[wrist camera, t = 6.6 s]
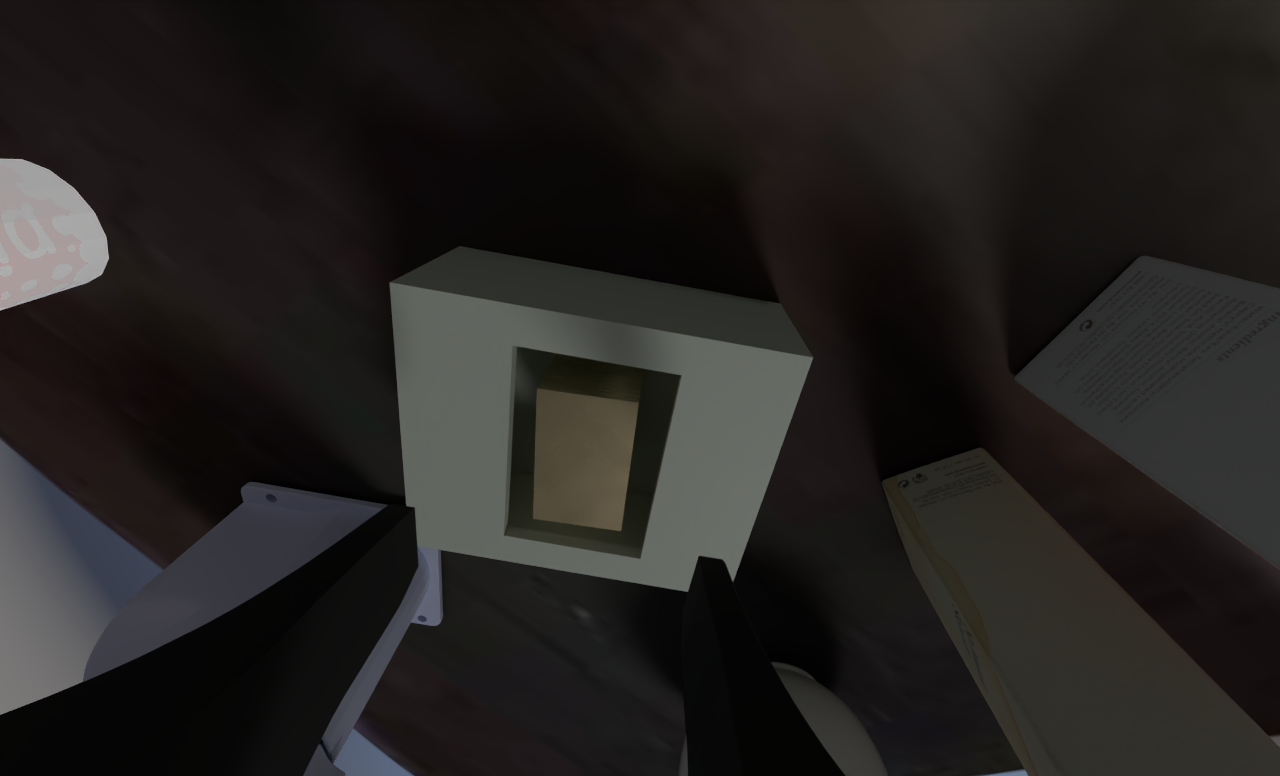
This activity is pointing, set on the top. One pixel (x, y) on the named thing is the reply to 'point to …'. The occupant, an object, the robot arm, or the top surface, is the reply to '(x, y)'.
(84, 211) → the beverage cup
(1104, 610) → the skincare box
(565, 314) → the slot box
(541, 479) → the wooden rectangular block
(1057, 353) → the small box
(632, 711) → the top surface
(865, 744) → the lidded jar
